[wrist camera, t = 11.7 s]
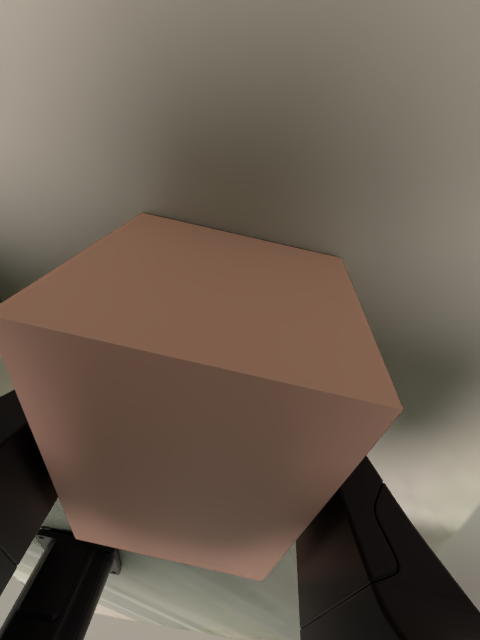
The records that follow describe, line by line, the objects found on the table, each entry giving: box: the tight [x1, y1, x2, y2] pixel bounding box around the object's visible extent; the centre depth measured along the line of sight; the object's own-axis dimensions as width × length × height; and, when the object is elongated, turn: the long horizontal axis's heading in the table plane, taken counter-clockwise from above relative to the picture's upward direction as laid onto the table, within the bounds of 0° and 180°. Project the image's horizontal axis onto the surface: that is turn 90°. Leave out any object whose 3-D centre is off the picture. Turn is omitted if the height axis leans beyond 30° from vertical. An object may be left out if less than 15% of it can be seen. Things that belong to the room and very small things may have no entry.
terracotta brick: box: [0, 213, 403, 581], centre depth 8 cm, size 8×6×5 cm
